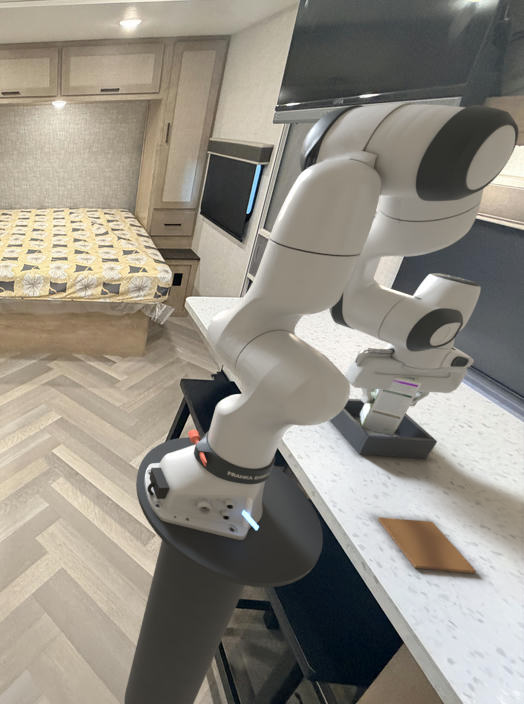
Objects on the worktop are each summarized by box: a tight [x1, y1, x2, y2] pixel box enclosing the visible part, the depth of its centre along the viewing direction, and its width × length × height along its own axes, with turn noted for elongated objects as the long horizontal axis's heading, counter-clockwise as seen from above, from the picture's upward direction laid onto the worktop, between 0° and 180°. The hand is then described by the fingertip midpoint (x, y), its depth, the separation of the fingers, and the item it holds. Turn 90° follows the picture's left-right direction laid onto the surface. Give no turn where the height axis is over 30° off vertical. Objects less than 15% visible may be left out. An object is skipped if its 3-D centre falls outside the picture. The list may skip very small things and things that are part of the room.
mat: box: [377, 517, 477, 574], centre depth 69 cm, size 9×9×1 cm
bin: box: [329, 398, 438, 459], centre depth 91 cm, size 14×14×5 cm
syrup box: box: [359, 377, 422, 437], centre depth 87 cm, size 6×6×14 cm
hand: (386, 403), depth 88 cm, fingers closed on syrup box, 7 cm apart
